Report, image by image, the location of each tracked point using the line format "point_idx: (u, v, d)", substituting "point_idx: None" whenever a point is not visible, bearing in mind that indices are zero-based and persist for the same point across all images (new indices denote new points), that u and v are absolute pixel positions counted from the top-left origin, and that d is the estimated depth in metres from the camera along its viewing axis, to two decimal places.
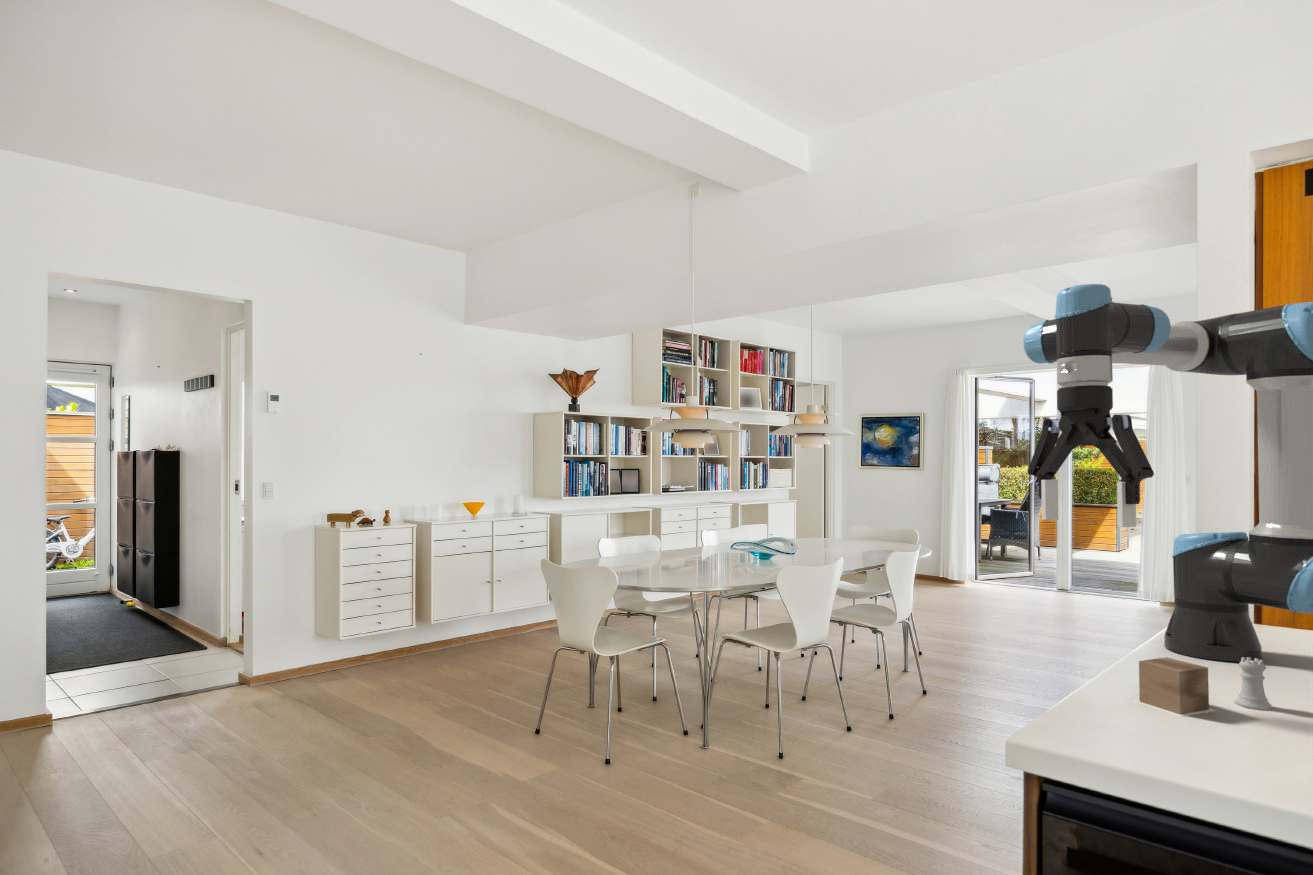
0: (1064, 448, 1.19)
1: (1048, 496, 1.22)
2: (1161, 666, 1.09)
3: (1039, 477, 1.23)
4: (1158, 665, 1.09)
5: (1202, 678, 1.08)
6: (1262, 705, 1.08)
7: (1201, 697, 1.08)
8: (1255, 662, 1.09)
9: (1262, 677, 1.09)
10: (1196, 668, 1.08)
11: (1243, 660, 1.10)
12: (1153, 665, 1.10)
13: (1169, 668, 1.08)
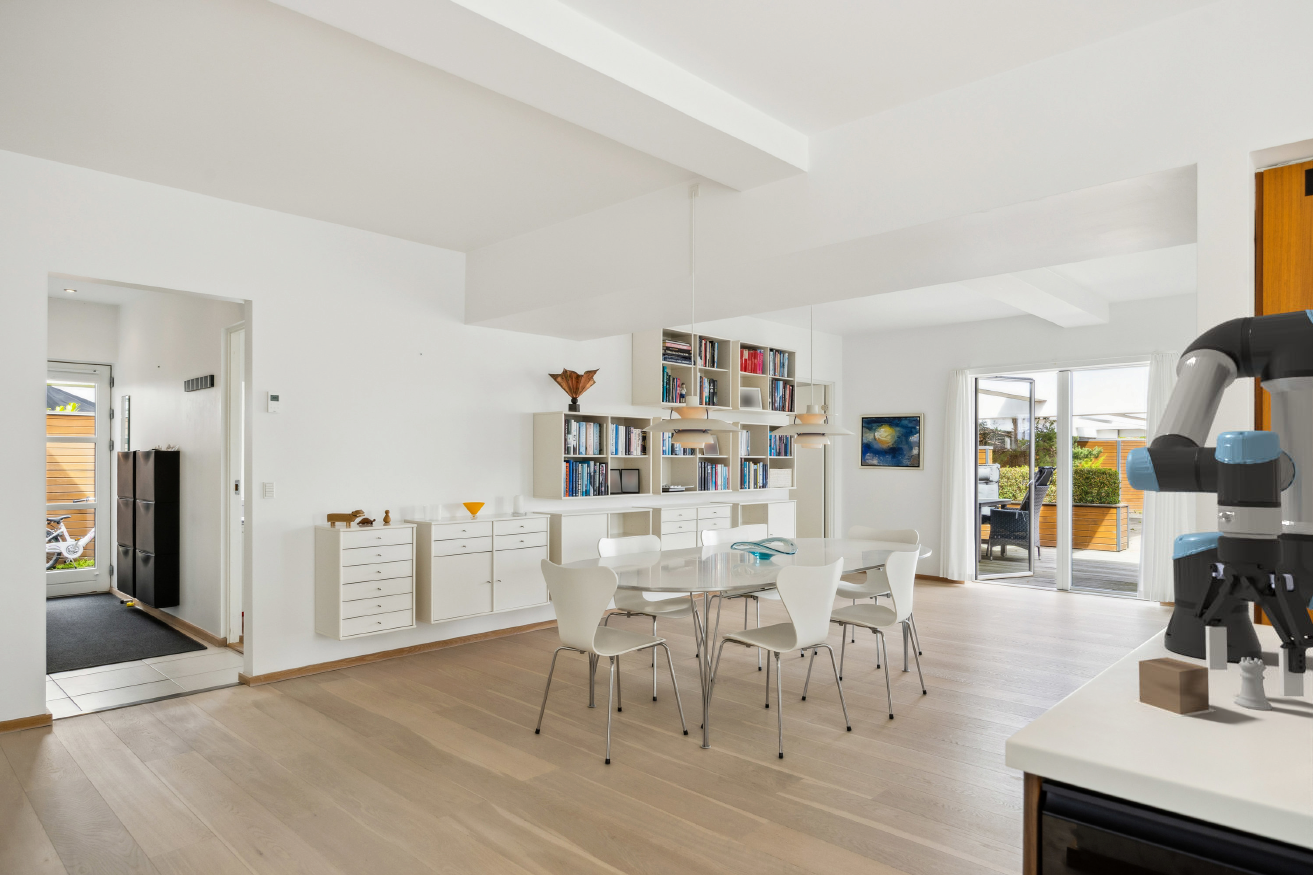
0: (1229, 597, 1.13)
1: (1214, 644, 1.16)
2: (1161, 666, 1.09)
3: (1204, 623, 1.18)
4: (1158, 665, 1.09)
5: (1202, 678, 1.08)
6: (1262, 705, 1.08)
7: (1201, 697, 1.08)
8: (1255, 662, 1.09)
9: (1262, 677, 1.09)
10: (1196, 668, 1.08)
11: (1243, 660, 1.10)
12: (1153, 665, 1.10)
13: (1169, 668, 1.08)
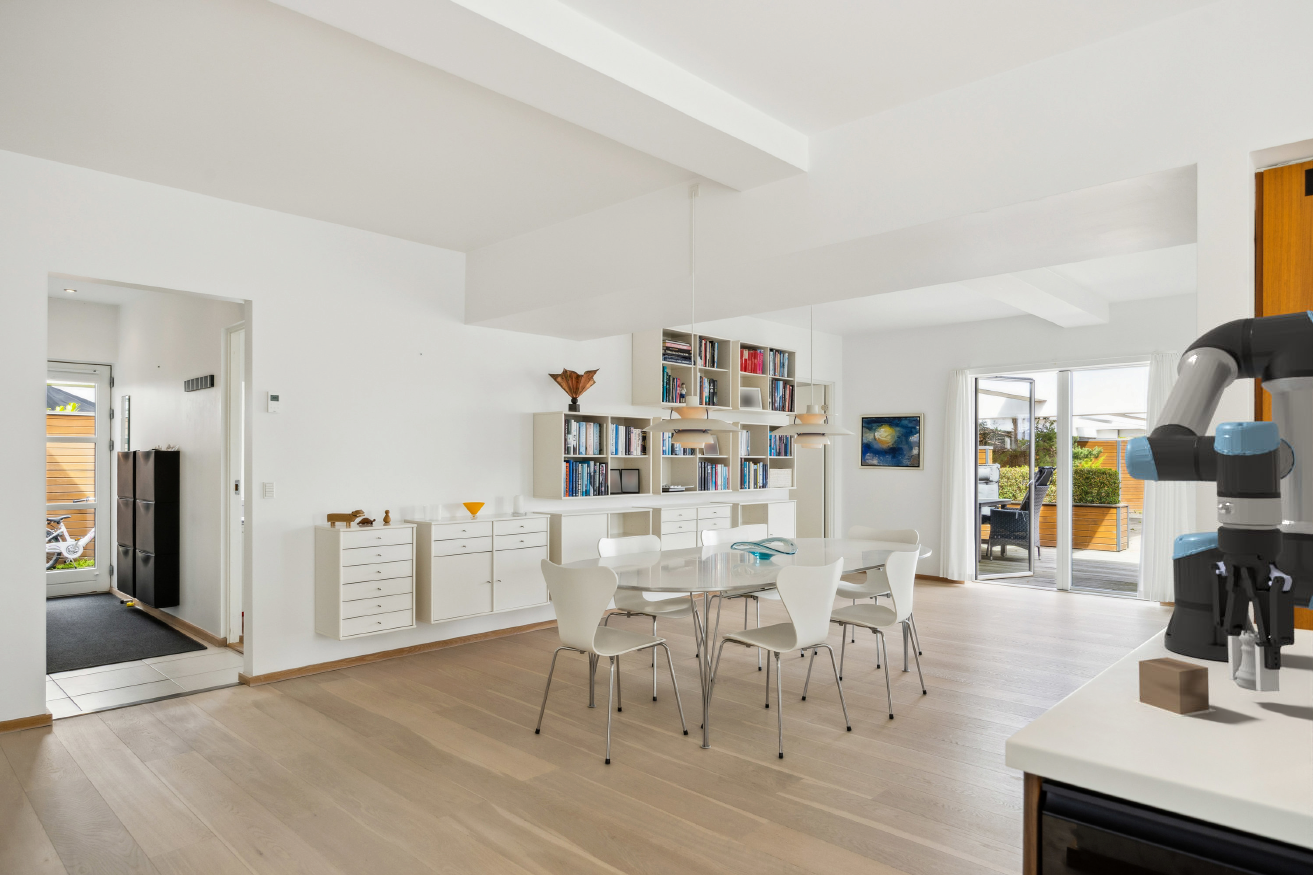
0: (1238, 593, 1.12)
1: (1237, 654, 1.13)
2: (1161, 666, 1.09)
3: (1226, 632, 1.14)
4: (1158, 665, 1.09)
5: (1202, 678, 1.08)
6: None
7: (1201, 697, 1.08)
8: (1255, 635, 1.09)
9: None
10: (1196, 668, 1.08)
11: (1243, 633, 1.11)
12: (1153, 665, 1.10)
13: (1169, 668, 1.08)
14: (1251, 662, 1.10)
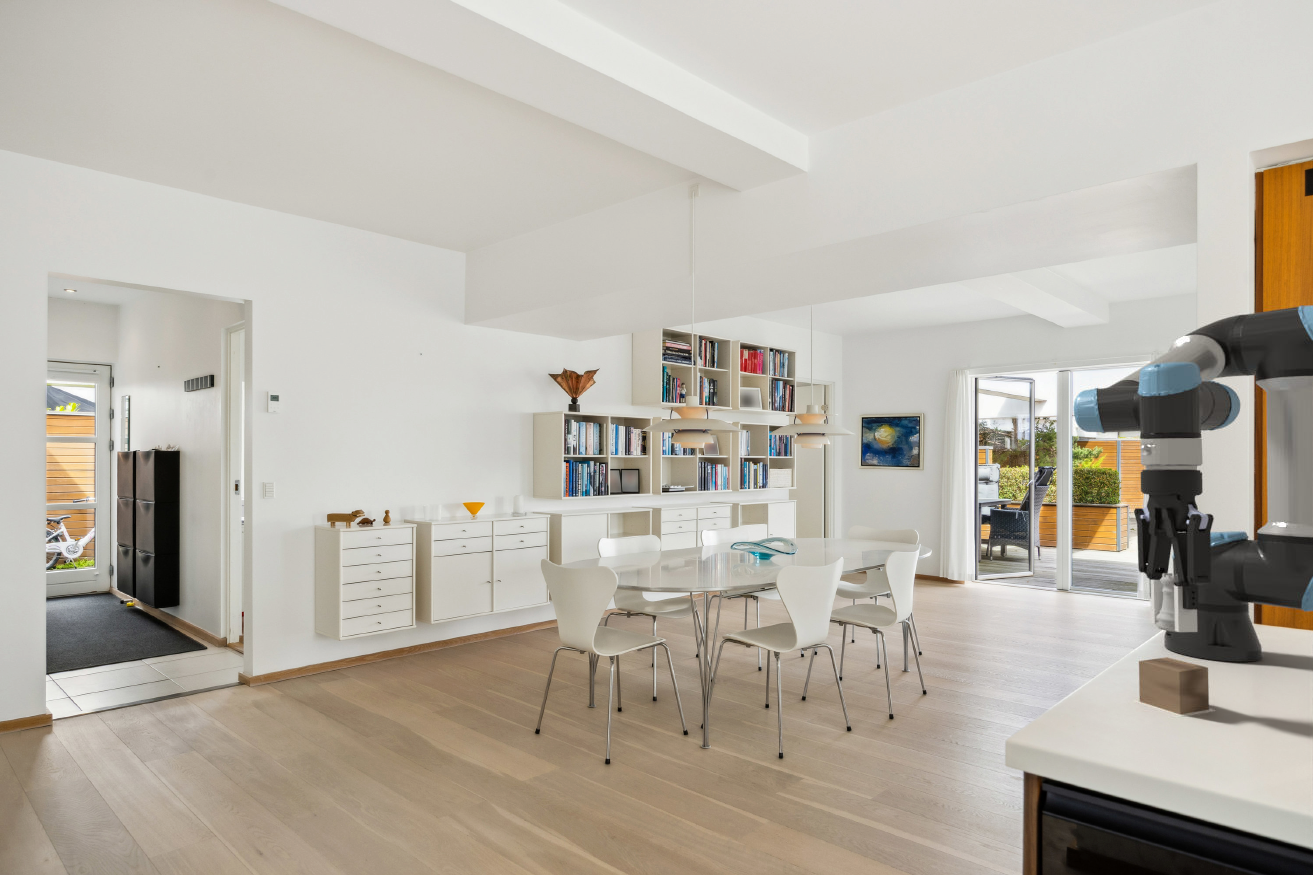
0: (1160, 536, 1.12)
1: (1158, 598, 1.12)
2: (1161, 666, 1.09)
3: (1149, 576, 1.14)
4: (1158, 665, 1.09)
5: (1202, 678, 1.08)
6: None
7: (1201, 697, 1.08)
8: (1175, 576, 1.09)
9: None
10: (1196, 668, 1.08)
11: (1164, 575, 1.11)
12: (1153, 665, 1.10)
13: (1169, 668, 1.08)
14: (1171, 603, 1.09)
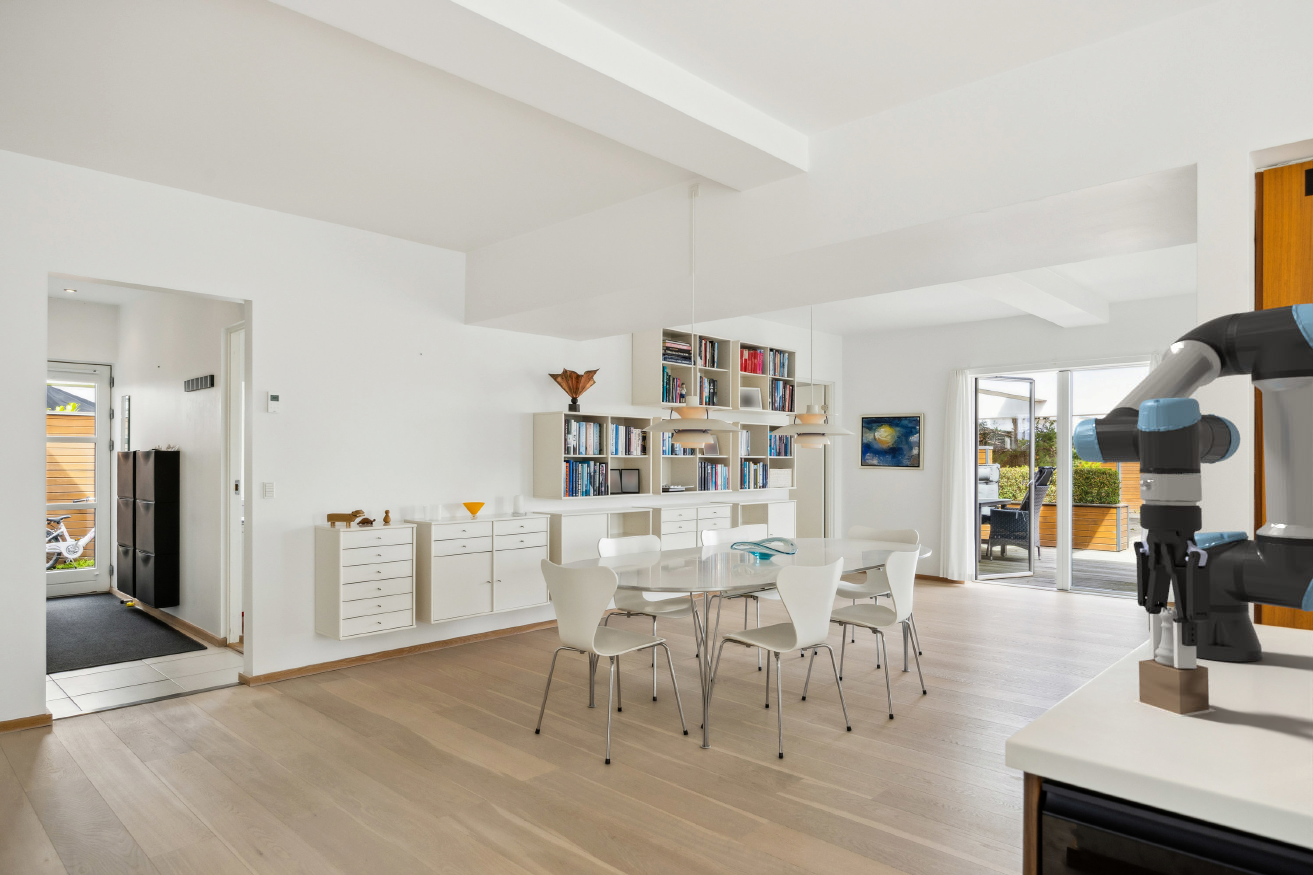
0: (1159, 571, 1.12)
1: (1157, 633, 1.12)
2: (1161, 666, 1.09)
3: (1148, 610, 1.13)
4: (1158, 665, 1.09)
5: (1202, 678, 1.08)
6: None
7: (1201, 697, 1.08)
8: (1174, 611, 1.09)
9: None
10: (1196, 668, 1.08)
11: (1163, 610, 1.10)
12: (1153, 665, 1.10)
13: (1169, 668, 1.08)
14: (1170, 639, 1.09)
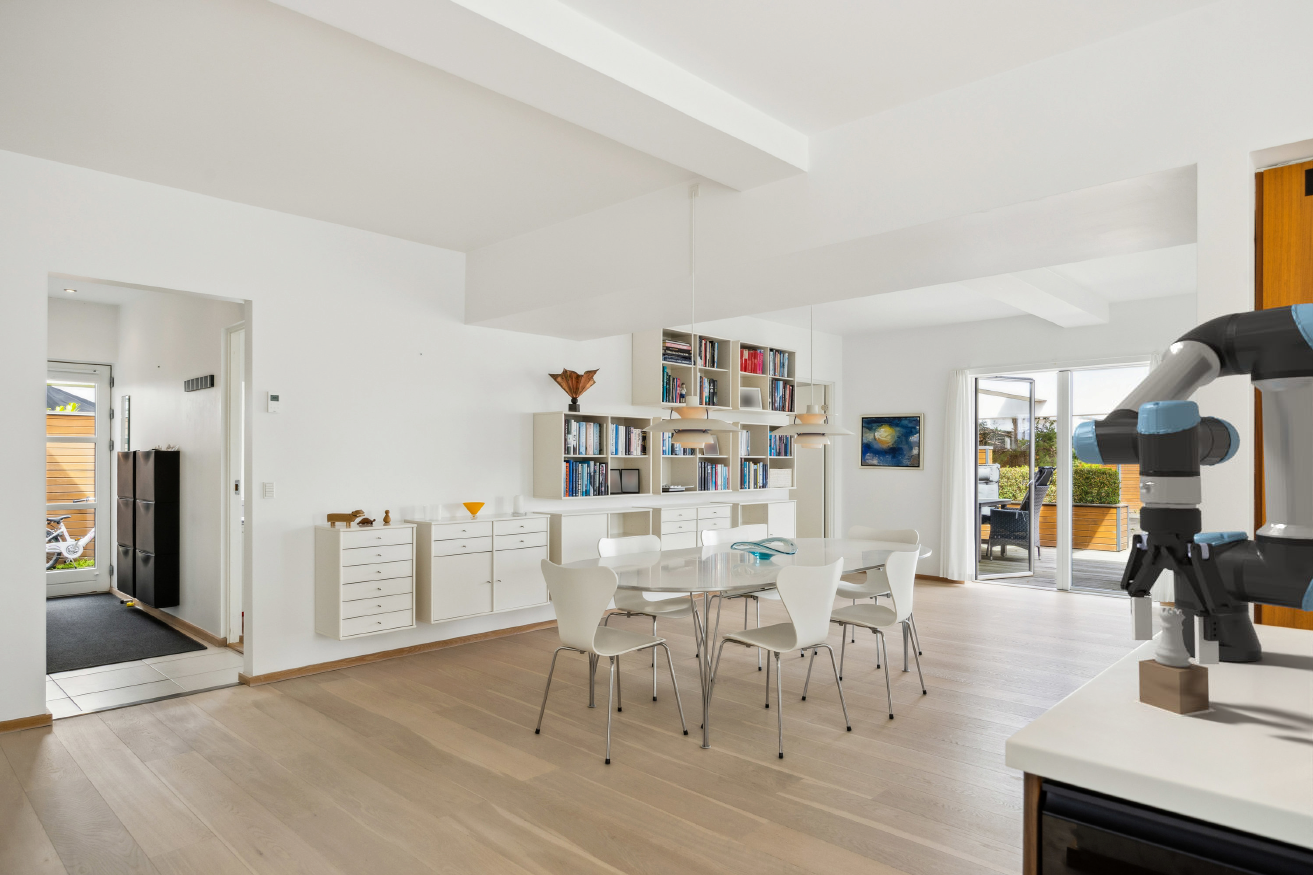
0: (1152, 568, 1.14)
1: (1139, 615, 1.17)
2: (1161, 666, 1.09)
3: (1130, 594, 1.18)
4: (1158, 665, 1.09)
5: (1202, 678, 1.08)
6: (1180, 654, 1.08)
7: (1201, 697, 1.08)
8: (1174, 611, 1.09)
9: (1181, 626, 1.09)
10: (1196, 668, 1.08)
11: (1163, 610, 1.10)
12: (1153, 665, 1.10)
13: (1169, 668, 1.08)
14: (1170, 639, 1.09)
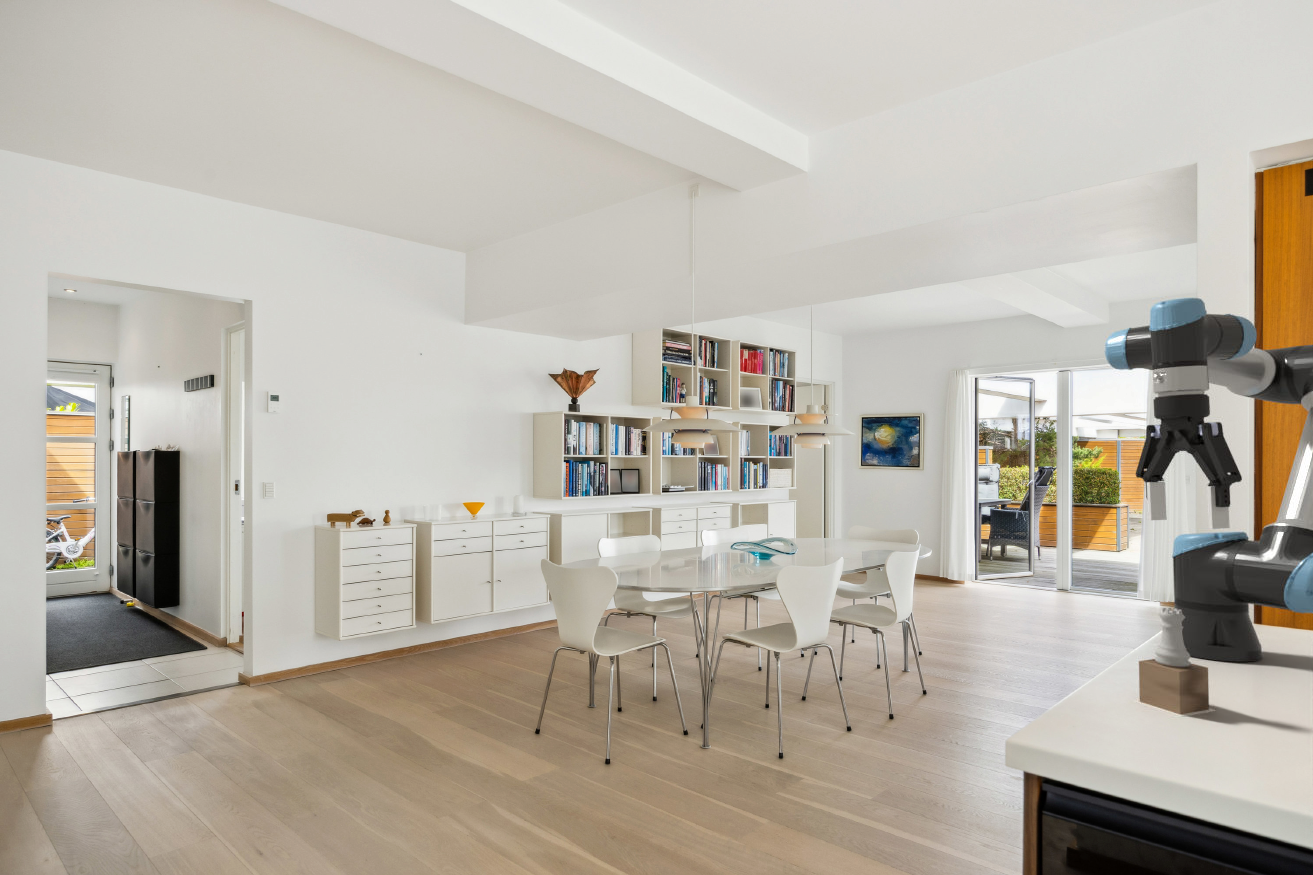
0: (1165, 453, 1.26)
1: (1154, 498, 1.29)
2: (1161, 666, 1.09)
3: (1145, 480, 1.31)
4: (1158, 665, 1.09)
5: (1202, 678, 1.08)
6: (1180, 654, 1.08)
7: (1201, 697, 1.08)
8: (1174, 611, 1.09)
9: (1181, 626, 1.09)
10: (1196, 668, 1.08)
11: (1163, 610, 1.10)
12: (1153, 665, 1.10)
13: (1169, 668, 1.08)
14: (1170, 639, 1.09)
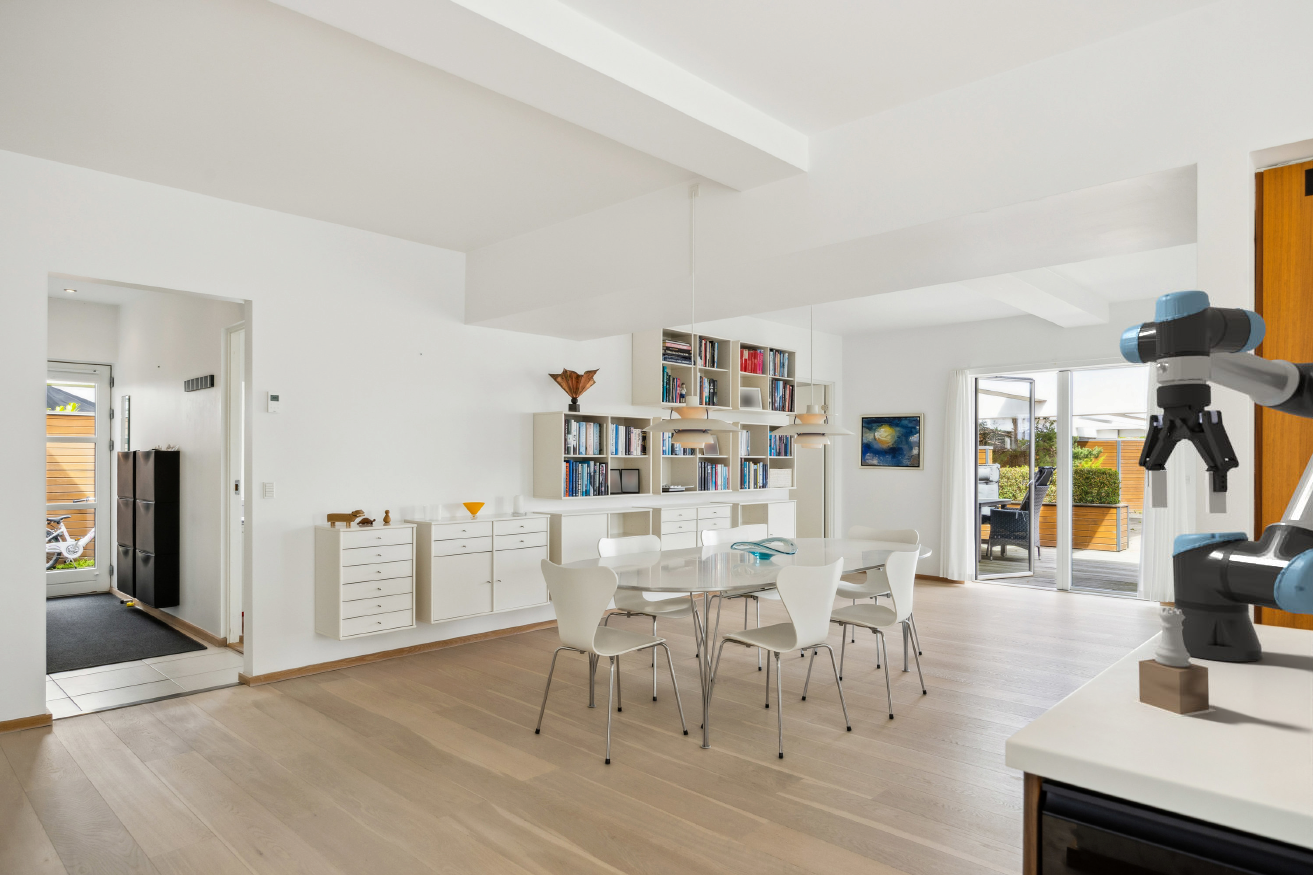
0: (1167, 441, 1.30)
1: (1155, 486, 1.33)
2: (1161, 666, 1.09)
3: (1147, 468, 1.34)
4: (1158, 665, 1.09)
5: (1202, 678, 1.08)
6: (1180, 654, 1.08)
7: (1201, 697, 1.08)
8: (1174, 611, 1.09)
9: (1181, 626, 1.09)
10: (1196, 668, 1.08)
11: (1163, 610, 1.10)
12: (1153, 665, 1.10)
13: (1169, 668, 1.08)
14: (1170, 639, 1.09)
